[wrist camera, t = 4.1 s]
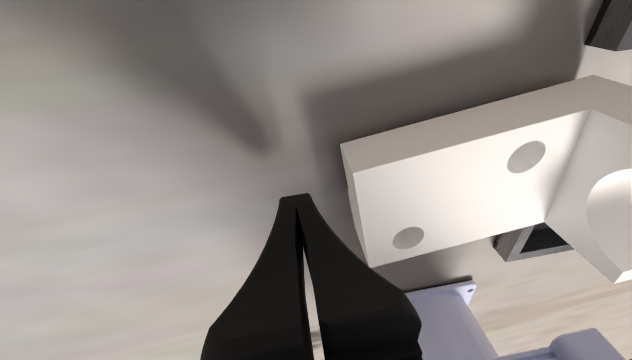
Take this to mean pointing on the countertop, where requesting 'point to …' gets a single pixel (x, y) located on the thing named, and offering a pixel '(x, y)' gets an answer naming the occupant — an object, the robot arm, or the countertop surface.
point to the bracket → (502, 176)
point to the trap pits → (536, 240)
